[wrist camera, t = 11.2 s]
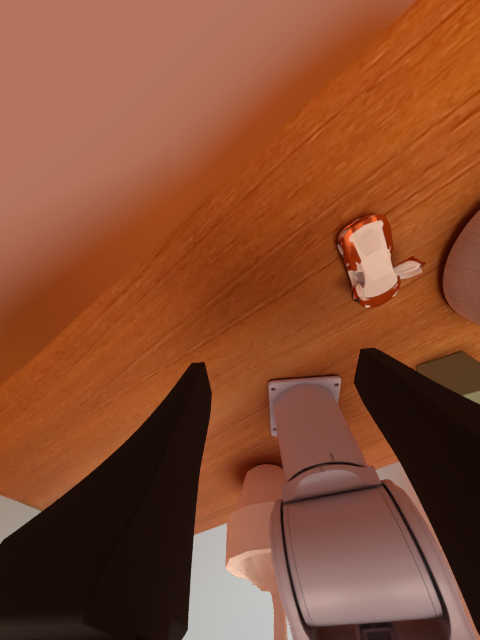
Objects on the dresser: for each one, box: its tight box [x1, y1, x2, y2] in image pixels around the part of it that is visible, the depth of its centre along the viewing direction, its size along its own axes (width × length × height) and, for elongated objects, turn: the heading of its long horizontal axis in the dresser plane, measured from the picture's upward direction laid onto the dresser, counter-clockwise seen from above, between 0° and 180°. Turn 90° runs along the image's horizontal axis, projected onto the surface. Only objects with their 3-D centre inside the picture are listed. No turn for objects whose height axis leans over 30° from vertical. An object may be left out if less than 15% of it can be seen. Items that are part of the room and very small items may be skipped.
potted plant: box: [225, 464, 287, 640], centre depth 22 cm, size 13×12×25 cm
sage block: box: [417, 351, 480, 404], centre depth 22 cm, size 4×4×4 cm
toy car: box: [337, 213, 426, 308], centre depth 17 cm, size 5×8×3 cm, turn 28°
